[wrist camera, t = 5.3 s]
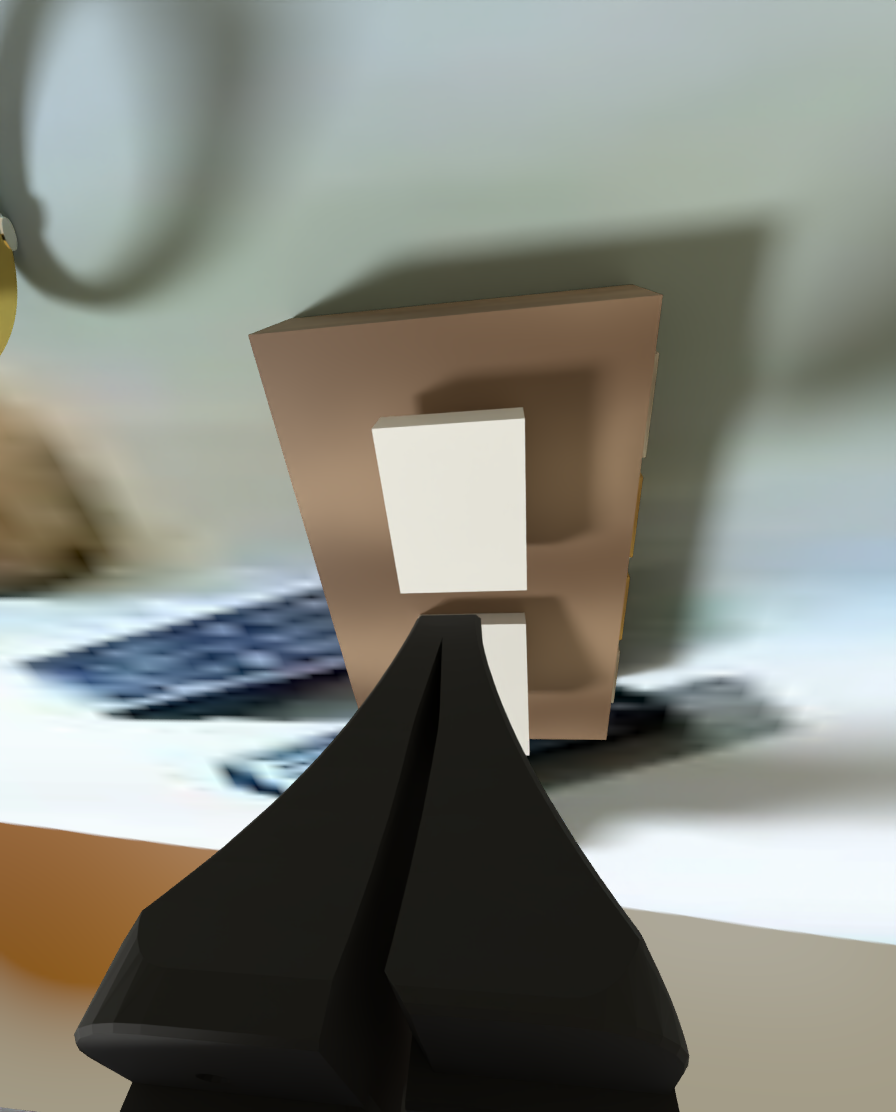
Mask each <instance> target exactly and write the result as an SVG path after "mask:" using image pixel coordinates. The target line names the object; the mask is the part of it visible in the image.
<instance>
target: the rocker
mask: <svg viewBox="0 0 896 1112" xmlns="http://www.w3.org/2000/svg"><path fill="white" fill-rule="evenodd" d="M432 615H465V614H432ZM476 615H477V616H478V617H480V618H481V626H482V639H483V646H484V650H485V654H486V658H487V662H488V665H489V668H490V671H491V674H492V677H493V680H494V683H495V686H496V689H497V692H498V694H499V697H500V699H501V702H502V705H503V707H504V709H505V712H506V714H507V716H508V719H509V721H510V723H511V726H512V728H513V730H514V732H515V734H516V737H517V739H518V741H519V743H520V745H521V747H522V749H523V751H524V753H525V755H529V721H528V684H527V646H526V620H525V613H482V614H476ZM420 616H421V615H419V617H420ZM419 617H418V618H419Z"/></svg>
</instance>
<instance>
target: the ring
mask: <svg viewBox="0 0 896 1112" xmlns="http://www.w3.org/2000/svg"><path fill="white" fill-rule="evenodd" d="M16 249H17V237H16V233H15V230H14V228H13V225H12V223H11V222H10V220H9V219H8V218H7V217H4V216H2V215H1V213H0V355H1V353H2V352H3V350H4V348H5V346H6V344H7V342H8V340H9V337H10V335H11V332H12V328H13V325H14V320H15V315H16V307H17V278H16V269H15V262H14V257H13V252H12V250H13V251H15V250H16Z"/></svg>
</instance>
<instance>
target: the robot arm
mask: <svg viewBox="0 0 896 1112" xmlns="http://www.w3.org/2000/svg"><path fill="white" fill-rule="evenodd" d="M74 1036H75V1041H76V1044H77V1046H78V1048H79V1050H80V1051H81V1052H83V1053H84V1054H86V1055H87V1056H88V1057H90V1058H91V1059H93V1060H95V1061H97V1062H98V1063H100V1064H102V1065H104V1066H106V1067H107V1068H109V1069H111V1070H113V1071H114V1072H116V1073H118V1074H120V1075H121V1076H123V1077H125V1078H126V1079H128V1080H130V1081H132V1085H131V1087H130V1089H129V1091H128V1094H127V1096H126V1098H125V1101H124V1103H123V1105H122V1108H121V1110H120V1112H679V1108H678V1103H677V1098H676V1093H675V1086H676V1085H677V1083H678V1082H679V1080H680V1078H681V1077H682V1075H683V1074H684V1072H685V1070H686V1068H687V1066H688V1062H689V1054H688V1049H687V1045H686V1041H685V1038H684V1035H683V1031H682V1029H681V1025H680V1022H679V1019H678V1016H677V1013H676V1011H675V1009H674V1006H673V1003H672V1001H671V998H670V996H669V993H668V991H667V989H666V987H665V984H664V982H663V980H662V978H661V976H660V973H659V971H658V969H657V967H656V965H655V963H654V960H653V958H652V956H651V954H650V952H649V950H648V948H647V946H646V943H645V941H644V939H643V937H642V935H641V934H640V932H639V931H638V929H637V928H636V926H635V925H634V924H633V922H632V921H631V920H630V918H629V917H628V916H627V914H626V913H625V912H624V910H623V909H622V907H621V906H620V905H619V903H618V902H617V901H616V899H615V898H614V896H613V895H612V894H611V892H610V891H609V889H608V888H607V886H606V885H605V884H604V882H603V881H602V879H601V878H600V877H599V875H598V874H597V872H596V871H595V869H594V868H593V866H592V865H591V863H590V862H589V860H588V859H587V857H586V856H585V854H584V853H583V851H582V850H581V848H580V847H579V845H578V844H577V842H576V841H575V839H574V838H573V836H572V834H571V833H570V831H569V830H568V828H567V826H566V825H565V823H564V821H563V820H562V818H561V816H560V815H559V813H558V812H557V810H556V808H555V807H554V805H553V803H552V802H551V800H550V799H549V797H548V795H547V794H546V792H545V790H544V788H543V786H542V785H541V783H540V781H539V779H538V777H537V776H536V774H535V772H534V770H533V768H532V766H531V765H530V763H529V761H528V759H527V757H526V755H525V753H524V751H523V749H522V747H521V745H520V743H519V741H518V739H517V737H516V734H515V732H514V730H513V728H512V726H511V723H510V721H509V719H508V716H507V714H506V712H505V709H504V707H503V705H502V702H501V699H500V697H499V694H498V692H497V689H496V686H495V683H494V680H493V677H492V674H491V671H490V668H489V665H488V662H487V658H486V654H485V650H484V646H483V639H482V626H481V618H480V617H478V616H477V615H476V614H465V615H421V616H420V617H419V618H418V619H417V620H416V622H415V624H414V626H413V628H412V629H411V631H410V633H409V635H408V637H407V638H406V640H405V642H404V643H403V645H402V647H401V648H400V650H399V651H398V653H397V655H396V656H395V658H394V660H393V661H392V663H391V664H390V666H389V667H388V668H387V670H386V671H385V673H384V674H383V676H382V677H381V679H380V680H379V682H378V683H377V685H376V686H375V688H374V689H373V690H372V692H371V693H370V694H369V696H368V697H367V698H366V700H365V701H364V702H363V704H362V705H361V706H360V708H359V709H358V710H357V712H356V713H355V714H354V716H353V717H352V718H351V719H350V721H349V722H348V723H347V724H346V726H345V727H344V728H343V729H342V730H341V732H340V733H339V734H338V735H337V736H336V738H335V739H334V740H333V741H332V742H331V743H330V744H329V746H328V747H327V748H326V749H325V750H324V751H323V752H322V753H321V755H320V756H319V757H318V758H317V759H316V760H315V761H314V762H313V763H312V764H311V765H310V766H309V767H308V768H307V769H306V770H305V771H304V773H303V774H302V775H301V776H300V777H299V778H298V779H297V780H296V781H295V782H294V783H293V784H292V785H291V786H290V787H289V788H288V789H287V790H286V791H285V792H284V793H283V794H282V795H281V796H280V797H279V798H278V799H277V800H275V801H274V802H273V803H272V804H271V805H270V806H269V807H268V808H267V809H266V810H265V811H263V812H262V813H261V814H260V815H259V816H258V817H257V818H256V819H254V820H253V821H252V822H251V823H250V824H249V825H248V826H247V827H245V828H244V829H243V830H242V831H241V832H240V833H239V834H238V835H236V836H235V837H234V838H233V839H232V840H231V841H230V842H229V843H227V844H226V845H225V846H224V847H223V848H222V849H220V850H219V851H218V852H217V853H216V854H214V855H213V856H212V857H211V858H209V859H208V860H207V861H206V862H204V863H203V864H202V865H201V866H199V867H198V868H197V869H196V870H195V871H193V872H192V873H190V874H189V875H188V876H187V877H185V878H184V879H183V880H181V881H180V882H179V883H178V884H176V885H175V886H174V887H173V888H171V889H170V890H169V891H168V892H166V893H165V894H164V895H162V896H161V897H160V898H159V899H157V900H156V901H154V902H153V903H152V904H151V905H149V906H148V907H146V908H145V909H144V910H142V912H141V914H140V915H139V917H138V919H137V920H136V922H135V924H134V925H133V927H132V928H131V930H130V932H129V933H128V935H127V936H126V938H125V939H124V941H123V943H122V945H121V947H120V948H119V951H118V952H117V954H116V956H115V958H114V960H113V962H112V964H111V966H110V967H109V969H108V971H107V973H106V975H105V977H104V979H103V981H102V982H101V984H100V987H99V988H98V990H97V992H96V994H95V996H94V998H93V999H92V1001H91V1004H90V1005H89V1007H88V1009H87V1011H86V1013H85V1015H84V1017H83V1018H82V1020H81V1022H80V1024H79V1026H78V1028H77V1030H76V1032H75V1034H74ZM0 1112H35V1111H26V1110H17V1109H9V1108H1V1107H0Z"/></svg>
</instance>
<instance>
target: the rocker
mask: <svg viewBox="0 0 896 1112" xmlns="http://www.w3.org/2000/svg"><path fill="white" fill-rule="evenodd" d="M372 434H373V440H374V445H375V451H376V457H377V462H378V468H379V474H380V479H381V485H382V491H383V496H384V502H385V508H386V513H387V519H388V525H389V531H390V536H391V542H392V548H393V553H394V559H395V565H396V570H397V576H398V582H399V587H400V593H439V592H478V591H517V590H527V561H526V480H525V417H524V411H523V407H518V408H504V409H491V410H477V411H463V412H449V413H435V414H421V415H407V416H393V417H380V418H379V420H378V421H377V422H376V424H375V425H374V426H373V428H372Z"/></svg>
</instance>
